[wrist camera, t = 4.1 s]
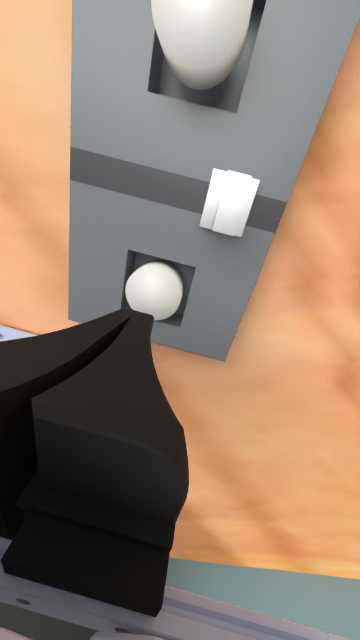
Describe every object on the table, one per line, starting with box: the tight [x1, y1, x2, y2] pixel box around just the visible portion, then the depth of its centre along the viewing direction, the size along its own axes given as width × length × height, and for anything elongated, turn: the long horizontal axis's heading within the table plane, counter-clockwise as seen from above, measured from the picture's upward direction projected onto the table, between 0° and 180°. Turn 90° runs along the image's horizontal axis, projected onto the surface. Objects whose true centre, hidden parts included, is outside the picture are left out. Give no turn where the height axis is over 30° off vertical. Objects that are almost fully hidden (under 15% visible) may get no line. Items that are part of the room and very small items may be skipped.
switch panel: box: [68, 0, 360, 362], centre depth 14 cm, size 20×12×2 cm, turn 167°
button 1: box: [125, 260, 185, 320], centre depth 16 cm, size 4×4×2 cm
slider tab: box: [199, 169, 260, 237], centre depth 12 cm, size 3×2×3 cm
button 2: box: [151, 0, 253, 90], centre depth 9 cm, size 4×4×2 cm
